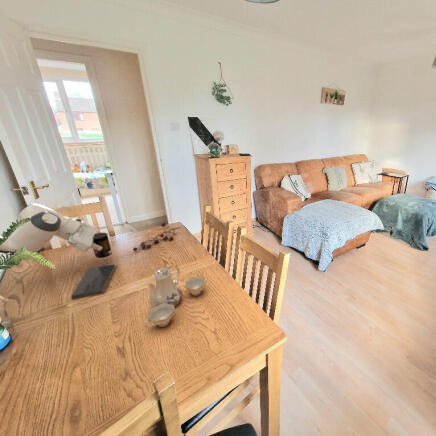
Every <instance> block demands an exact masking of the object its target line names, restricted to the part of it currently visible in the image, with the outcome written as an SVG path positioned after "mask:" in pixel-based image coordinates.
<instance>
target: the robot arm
mask: <svg viewBox="0 0 436 436" xmlns="http://www.w3.org/2000/svg"><path fill="white" fill-rule="evenodd" d="M17 218H18V219H19V220H21V221H22V220H23V219H26V218H30V219H31V220H30V221H28V222H26V223H24V224H21V226H20V227H19V228H18V229H17V230H16V232H14V233H13V234H12V235H10V236H7V237H8V239H7V240H6V242H5V243H4V244H3V245H1V246H0V253H1V254H5V255H8V256H11V254H6V253H9V252H11V253H12V255H14V253H15V250H16V251H17V252H19V251H20V250H21V248H22V247H25V248H26V250H27V251H31V252H38V255H39V254H40V253H41V252H42V250H43V249H44V248H45V247H46V245H47V244H48V243H49V242H50V241H51V240H52V239H53V237H54V236H55V237H57V238H60V239H62V240H64V241H66V242H67V244H68V245H69V246H71V247H72V248H74V249H77V250H79V251H81V252H84V253H85V252H86V253H87V252H88V251H89V250H90V249H92V250H93V249H97V250H101V249H102V248H103V246H101V245H96V244H95V243H93V236H94V234H97V233H98V229H97V228H96V227H95V226H93V225H91V224H90V223H87V222H85V221H83V219H81V218H79V217H77V218H71V217H67V216H64V215H63V214H60V212H58V211H56V210H54V209H51V208H49V207H47V206H45V205H41V204H37V203H31V204H28V205H26V206H25V207H24V208H22V209H21V210H20V211H19V212H18V215H17ZM43 219H46V220H49V221H43ZM2 237H3V236H0V238H2Z"/></svg>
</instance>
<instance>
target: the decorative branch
mask: <svg viewBox="0 0 436 436" xmlns="http://www.w3.org/2000/svg"><path fill="white" fill-rule="evenodd" d="M166 226H167V224H166V223H165V222H162V223H161V227H162V228H164V229H163V232H161V233H157V235H156V236H155V237H152V236H150V238H151V239H150V238H149V237H148V238H147V239H148V240H145V241H142V242H140V247H133V248H132V251H134V252H137V251H138V250H141V249H143V250H144V249H145V248H146V249H150V248H151V247H152V243H153V244H158V243H159V242H160V239H159V237H160V238H162V240H163V241H167V240H168V241H170V242H171V241H173V240H174V237H175V236H176V230H179V229H182V226H180V227H173V228H170V227H169V226H167V228H168V229H169V230H167V231H166V230H165V227H166ZM172 231H173V232H172ZM168 234H169V235H170V234H171V235H172V234H173V236H170V237H168ZM165 235H166V236H165Z"/></svg>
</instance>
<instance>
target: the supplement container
mask: <svg viewBox="0 0 436 436" xmlns="http://www.w3.org/2000/svg"><path fill="white" fill-rule="evenodd" d="M93 243H95V244H96V245H101V246H103V248H102V249H101V250H97V249H92V251H93V253H94V256H95V258H97V259H103V258H107V257H110V256H111V255H112V254H113V249H112V246H111V242H110V239H109V235H108V233H107V232H96V234H94V236H93Z"/></svg>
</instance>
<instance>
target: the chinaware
mask: <svg viewBox="0 0 436 436" xmlns="http://www.w3.org/2000/svg"><path fill="white" fill-rule="evenodd" d="M173 270H176V277H175V279H174V280H173V274H174V273H173ZM180 272H181V271H180V268H179V267H178V266H173V267H171V268H164V267H161V268H159V270H157V271H155V272H154V273H153V274H152V278H153V279H154V280H155V284H154V283H152V282H151V283H148V284H147V286H149V287H150V292H149V300H148V301H149V305H150V307H152V308H150V309H149V310H148V315H147V317H146V319H147V320H146V321H145V322H144V327H145V328H146V329H149V328H151V327H152V326H154V327H157V326H158V327H160V328H163V327H166V326H167V325H168V324H169V323H170V322H171V320H172V318H173V316H174V313H175V310H176V306H177V305H178V304H179V303H180V300H181V298H182V295H183V291H182V289H180V288H179V287H178V286H177V285H178V284H179V280H178V279H179V278H180ZM206 283H207V279H206V278H205V277H203V276H202V275H200V276H196V277H189V278H188V279H187V280H186V281H185V282H184V283H183V287H184V288H185V289H186V290H187V292H188V293H190V294H192V296H199V295H201V294H202V291H203V290H204V288H205V285H206ZM150 321H151V323H152V324H151V325H149V326H146V324H147V323H148V322H150Z"/></svg>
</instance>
